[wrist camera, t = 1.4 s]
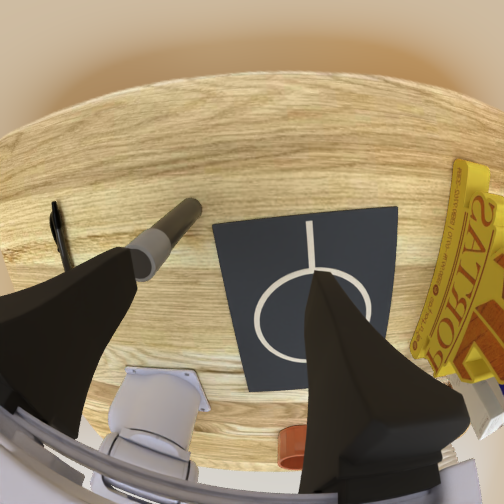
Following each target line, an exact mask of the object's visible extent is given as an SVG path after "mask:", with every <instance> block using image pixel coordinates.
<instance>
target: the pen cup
mask: <svg viewBox="0 0 504 504" xmlns="http://www.w3.org/2000/svg"><path fill="white" fill-rule="evenodd" d="M306 431H307V425H298V426H292V427H288V428H285V429H283V430H282V431H281V432H280V433H279V435H278V461H277V463H278V466H279V467H281V468H284V469H288V470H302V468H303V460H304V451H305V442H306Z"/></svg>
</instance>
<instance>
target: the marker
mask: <svg viewBox="0 0 504 504" xmlns="http://www.w3.org/2000/svg"><path fill="white" fill-rule="evenodd" d="M201 212H202V207H201V204H200V203H199V202H198V201H197V200H196V199H193V198H187V199H185V200H184V201H182V202H181V203H180V204H179V205H177V206H176V207H175V208H174V209H172V210H171V211H170V212H169V213H167V214H166V215H165V216H164V217H163V218H161V219H160V220H159V221H158V222H157V223H155V224H154V225H153V226H152V227H151V228H149V229H146V230H144V231H143V232H142V233H141V234H140V235H138V236H137V237H136V238H135V239H134V240H133V241H131V242H130V243H129V244H128V245H127V246H126V247H124V248H130V252H131V258H132V263H133V269H134V274H135V279H136V281H138V282H145V281H148V280H150V279H151V278H152V277H153V276H154V275H155V273H156V272H157V271H158V270H159V268H160V267H161V266H162V264H163V263H164V262H165V260H166V259H167V258H168V257H169V255H170V253H171V250H172V249H173V248H174V246H175V245H176V244H177V243H178V241H179V240H180V239H181V238H182V237H183V235H184V234H185V233H186V232H187V231H188V229H189V228H190V227H191V226H192V225H193V223H194V222H195V221H196V220H197V219H198V217H199V216H200V215H201Z"/></svg>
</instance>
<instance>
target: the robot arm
mask: <svg viewBox="0 0 504 504" xmlns="http://www.w3.org/2000/svg"><path fill="white" fill-rule="evenodd" d="M136 292H137V284H136V279H135V274H134V269H133V263H132V258H131V252H130V248H124V247H116V248H113V249H110V250H108V251H106V252H104V253H102V254H100V255H97V256H96V257H94V258H92V259H90V260H88V261H86V262H84V263H82V264H80V265H78V266H76V267H74V268H72V269H70V270H68V271H66V272H64V273H62V274H60V275H58V276H56V277H54V278H52V279H49V280H47V281H45V282H42V283H40V284H37V285H35V286H32V287H30V288H27V289H24V290H20V291H17V292H14V293H11V294H8V295H4V296H0V504H152V503H149V502H146V501H143V500H141V499H138V498H135V497H132V496H130V495H127V494H125V493H122V492H120V491H118V490H116V489H114V488H113V487H112V486H114V487H117V488H119V489H122V490H124V491H126V492H129V493H132V494H134V495H137V496H139V497H142V498H145V499H148V500H151V501H154V502H157V503H160V504H482V499H481V491H480V485H479V479H478V474H477V468H476V463H475V459H473V458H472V459H469V460H466V461H463V462H460V463H457V464H454V465H451V466H449V467H446V468H444V469H441V470H439V468H438V463H439V462H441V461H442V459H443V457H442V452H441V450H442V449H444V448H445V447H446V446H448V445H449V444H450V443H452V442H453V441H454V440H455V439H457V438H458V437H459V436H460V435H461V434H463V433H464V432H465V430H466V429H467V428H468V426H469V424H470V420H471V419H470V416H469V413H468V410H467V407H466V404H465V401H464V398H463V395H462V394H461V393H459V392H457V391H456V390H454V389H452V388H450V387H448V386H447V385H445V384H443V383H441V382H440V381H438V380H436V379H435V378H433V377H432V376H430V375H429V374H427V373H426V372H425V371H423V370H422V369H420V368H419V367H418V366H416V365H415V364H414V363H412V362H411V361H410V360H408V359H407V358H406V357H405V356H404V355H402V354H401V353H400V352H399V351H398V350H396V349H395V348H394V347H393V346H392V345H391V344H390V343H389V342H388V341H387V340H386V339H385V338H384V337H383V336H382V335H381V334H380V333H379V332H378V331H377V330H376V329H375V328H374V327H373V326H372V325H371V324H370V323H369V321H368V320H367V319H366V318H365V317H364V316H363V315H362V313H361V312H360V311H359V310H358V308H357V307H356V306H355V305H354V303H353V302H352V301H351V299H350V298H349V297H348V295H347V294H346V293H345V291H344V290H343V289H342V287H341V286H340V284H339V283H338V282H337V280H336V279H335V277H334V276H333V275H332V273H331V272H327V271H318V270H314V273H313V278H312V283H311V287H310V291H309V296H308V300H307V304H306V308H305V316H304V341H305V352H306V363H307V375H308V392H309V397H308V417H307V431H306V442H305V451H304V460H303V468H302V475H301V481H300V487H299V492H298V494H282V493H266V492H254V491H245V490H237V489H229V488H223V487H217V486H211V485H206V484H201V483H197V481H198V474H199V471H198V467H197V466H196V463H195V462H194V461H191V460H189V458H190V454H191V452H188V450H189V446H190V442H191V438H192V434H193V429H194V425H195V421H196V417H197V414H198V411H210V410H211V407H210V405H209V403H208V400H207V398H206V396H205V394H204V391H203V389H202V386H201V384H200V382H199V379H198V377H197V374H196V372H195V371H193V370H178V369H157V368H143V367H131V366H126V367H125V371H126V373H127V374H126V376H125V378H124V380H123V382H122V384H121V386H120V388H119V390H118V392H117V394H116V396H115V398H114V400H113V402H112V404H111V406H110V409H109V413H108V424H109V428H110V431H111V433H110V434H107V435H106V437H105V438H104V440H103V442H102V443H101V446H100V448H99V450H98V451H97V450H95V449H93V448H91V447H88V446H86V445H84V444H82V443H80V442H78V441H76V440H75V439H77V438H78V432H79V426H80V421H81V415H82V411H83V407H84V404H85V400H86V396H87V393H88V390H89V387H90V384H91V381H92V378H93V375H94V372H95V370H96V367H97V365H98V363H99V360H100V358H101V356H102V354H103V352H104V350H105V348H106V346H107V344H108V343H109V341H110V339H111V338H112V336H113V334H114V333H115V331H116V329H117V328H118V326H119V325H120V323H121V321H122V320H123V318H124V316H125V315H126V313H127V311H128V310H129V308H130V305H131V303H132V301H133V299H134V296H135V294H136ZM43 444H45V445H46V446H48V447H50V448H52V449H53V450H55V451H57V452H58V453H60V454H62V455H63V456H65V457H67V458H69V459H71V460H73V461H75V462H76V463H79V464H80V465H82V466H85V467H87V468H88V469H91V470H93V475H92V478H91V481H90V485H91V490H92V492H91V491H89V490H87V489H85V488H83V487H82V483H83V481H84V478H85V476H84V474H82V473H80V472H79V471H77V470H75V469H74V468H72V467H70V466H69V465H68V464H66V463H65V462H63V461H62V460H60V459H59V458H58V457H57V456H55V455H54V454H52V453H51V452H49V451H48V450H46V449H45V448H44V445H43ZM111 485H112V486H111Z"/></svg>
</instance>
